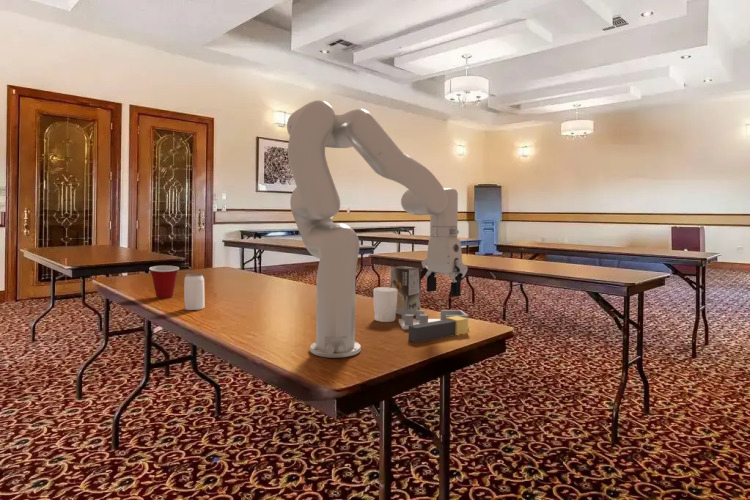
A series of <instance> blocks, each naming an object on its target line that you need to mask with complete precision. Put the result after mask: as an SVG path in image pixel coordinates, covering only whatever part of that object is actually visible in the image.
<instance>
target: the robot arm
mask: <svg viewBox="0 0 750 500" xmlns="http://www.w3.org/2000/svg"><path fill="white" fill-rule="evenodd" d="M291 113H292V112H291ZM286 130H287V133H288V136H289V139H288V144H287V159H288V163H289V167H290V171H291V173H292V176H293V177H292V178H293V180H294V182H295V183H294V184H295V185H296V187H295V188H294V189H293V191H292V193H291V195H290V200H289V202H290V209H291V214H292V217H293V218H294V222H295V224H296V227H297V229H298V232H299V234H300V237H301V239H302V242H303V245H304V246H305V248H306V250H307V252H309V254H311V256H312V257H315V258H316V259H319V263H318V268H317V273H316V325H315V326H316V333H315V334H316V339H315V342H313V343H311V344H310V346H309V351H310V353H311V354H313V355H315V356H318V357H322V358H331V359H340V358H347V357H352V356H356V355H358V354H359V353H360V352H361V349H362V348H361V347H362V346H361V344H360V343H359V342H357V341H355V340H356V339H355V338H356V336H355V335H356V277H357V275H356V274H357V264H358V259H359V253H360V239H359V236H358V234H357V232H355V230H354V229H353V228H352V227H351V226H349V225H347V224H345V223H340V222H339V223H338V222H334V221H333V218H334V217H336V215H337V214H338V213H339V211H340V209H341V199H340V196H339V192H338V191H337V188H336V184H335V182H334V179H333V175H332V173H331V172H330V168H329V166H328V162H327V157H326V148H330V149H331V148H333V149H349V148H352V147H353V149H355V151H356V152H357V153H358V154H359V155H360V156H361V157H362V158H363V160H364V161H365V162H366V163H367V164H368V166H369V167H370V169H372V170H373V172H375V174H377V175H378V176H381V177H382V178H385V179H387V180H390V181H393V182H396V183H397V184H400V185H402V186H404V187H405V188H406V189H407V190H406V191H405V192H404V193H403V194H402V196H401V199H400V204H401V208H402V209H403V211H405V212H406V213H407V214H410V215H413V216H429V219H430V220H429V229H430V231H429V235H430V236H429V238H428V239H429V240H428V245H427V253H426V255H427V256H426V258H425V259H423V260H422V261H421V266H422V268H423V272H424V274H425V278H426V291H427V292H428V293H429V292H436V291H437V277H436V275H437V274H441V275H448V276H449V278H450V279H451V281H452V282H450V297H451V298H455V297H460V296H461V294H462V293H461V291H462V288H461V286H462V284H461V283H462V282H463V281H464V278H466V275H467V272H468V269H469V267H468V266H467V265H466V264H465V263H463V254H462V253H463V252H462V246H461V245H462V243H461V239H460V238H458V235H459V233H460V231H459V229H458V224H459V223H458V217H459V216H458V214H459V212H458V208H459V207H458V202H459V201H458V200H459V199H458V198H459V197H458V195H459V194H458V191H457V189H455V188H450V187H446V188H445V187H444V186H443V185H442V184H441V182H440V181H439V180H438V178H437V177H436V176H435V175H434V174H433V173H432V172H431V171H430V170H429V169H428V168H427V167H426V166H424V165H423V164H422V163H420V162H418V160H416V159H414V158H412V157H411V156H409V155H408V154H407V153H405V152H403V151H402V150H401V149H400V148H399V147H398V145H397V144H396V143H395V141H394V140H393V139H392V138H391V136H390V135H389V134H388V133H387V132H386V131H385V130H384V128H383V127H382V126H381V124H380V123H379V122H378V121H377V120H376V118H375V117H374V116H373V115H372V114H371V113H370V112H369V111H368V110H366V109H363V108H356V109H352V110H350V111H347V112H345V113H343V114H335V110H334V108H333V106H332V105H330V103H328V102H326V101H325V100H313V101H311V102H308V103H306V104H305V105H303V106H301V107H300V108H298V109H297V110H295V111H294V112H293V113H292V114H290V116H289V117H288V119H287V122H286Z"/></svg>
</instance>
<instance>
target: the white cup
mask: <svg viewBox="0 0 750 500" xmlns="http://www.w3.org/2000/svg"><path fill="white" fill-rule="evenodd" d="M397 294H398V289H396V288H391V287H385V286H383V287H375V288H373V312H374V320H375V321H376V322H381V323H391V322H395V321H396V319H397V318H396V316H397V314H396V307H397Z"/></svg>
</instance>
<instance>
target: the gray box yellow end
mask: <svg viewBox="0 0 750 500" xmlns="http://www.w3.org/2000/svg"><path fill="white" fill-rule="evenodd" d="M468 324H469V318H468V319H467V318H463V317H460V316H453V317H446V320H440V321H434V322H428V323H422V324H416V325H410V326H409V329H408V336H407V337H408V341H410V342H413V343H415V342H417V343H422V342H421V341H423V342H428V341H432V339H433V340H438V339H441V337H443V338H447V337H446V336H448V337H452V336H451V335H454V336H456V335H458V336H460V335H459V334H463V335H466V334H465V333H468V331H469V329H468V326H469V325H468ZM437 338H438V339H437ZM427 340H428V341H427Z"/></svg>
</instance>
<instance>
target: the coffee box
mask: <svg viewBox="0 0 750 500" xmlns="http://www.w3.org/2000/svg"><path fill="white" fill-rule="evenodd" d="M421 284H422V268H421V267H413V266H405V265H399V266H391V267H390V288H396V289H398V294H397V307H396V315H399V316H402V310H410V315H413V317H414V316H415V317H416V310H421V292H422V290H421V288H422V287H421V286H422V285H421Z"/></svg>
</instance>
